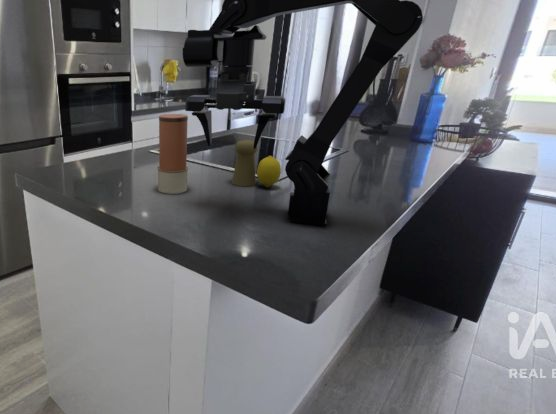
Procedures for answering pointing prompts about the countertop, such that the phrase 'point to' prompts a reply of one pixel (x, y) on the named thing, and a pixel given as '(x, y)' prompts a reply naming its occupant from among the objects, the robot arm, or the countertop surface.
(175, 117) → the terracotta tall cylinder
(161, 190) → the short cream cylinder
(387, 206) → the countertop surface
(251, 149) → the cork
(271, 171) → the lemon
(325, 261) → the countertop surface
